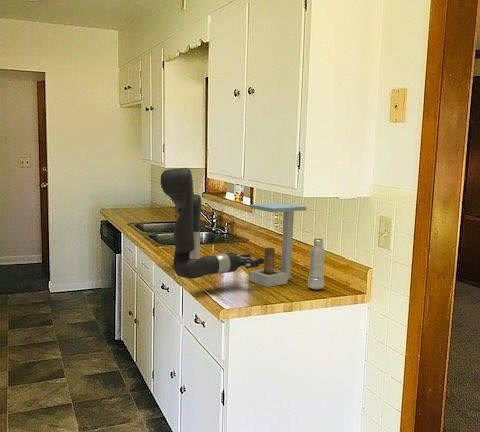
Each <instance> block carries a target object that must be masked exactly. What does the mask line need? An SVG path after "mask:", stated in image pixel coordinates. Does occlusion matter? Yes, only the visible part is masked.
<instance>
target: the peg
mask: <svg viewBox="0 0 480 432" xmlns="http://www.w3.org/2000/svg"><path fill="white" fill-rule="evenodd" d="M275 250H276V248H275V247H265V248H264V258H263V259H264V264H263V269H264V274H267V275H271V274H274V270H275V252H276V251H275Z"/></svg>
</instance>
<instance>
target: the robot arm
mask: <svg viewBox="0 0 480 432" xmlns="http://www.w3.org/2000/svg"><path fill="white" fill-rule="evenodd" d="M193 183H194V181H193V173H192V170H191V169H189V168H188V167H184V168H183V167H181V168H172V169H171V168H170V169H165V170H164V171H162V173H161V175H160V185H161V189H162V191H163V193H164V194H165V195H166V196H168V197H169V198H170V200H171V201H172V203H173V205H175V209H176V212H177V214H179V215H178V216H177V219H176V221H175V223H174V226H173V227H174V228H173V239H174V240H173V241H174V246H175V248H174V254H173V262H172V264H173V270H174V272H175V274H176V275H177V276H178V277H180V278H185V279H190V280H191V279H198V278H202V277H204V276H205V277H206V276H211V275H215V274H216V275H218V274H220V275H221V274H227V273H233V272H237V270H238V269H239V268H245V269H250V268H251V269H253V268H259V266H260V265H264V258H263V257H261V258H251V254H250V253H247V254H242V253H240V254H239V253H235V252H232V251H231V252H224V253H217V254H213V255H206V256H201V257H200V249H201V248H200V247H201V246H200V245H201V244H200V242H201V241H200V239H201V238H200V237H201V215H202V214H201V213H202V197H201V195H200V194H195V193H194V184H193Z"/></svg>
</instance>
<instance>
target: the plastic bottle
mask: <svg viewBox="0 0 480 432" xmlns="http://www.w3.org/2000/svg"><path fill="white" fill-rule="evenodd" d="M312 243H313V246H312V247H311V248H310V249H309V265H310V266H309V273H308V278H307V286H308V288H309V289H311V290H322V289H323V288H324V284H325V277H324V269H325V267H324V266H325V260H326V254H327V252H326V250H325V247H324V240H323V238H313V242H312Z"/></svg>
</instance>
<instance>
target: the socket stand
mask: <svg viewBox="0 0 480 432" xmlns="http://www.w3.org/2000/svg"><path fill="white" fill-rule="evenodd" d="M249 206H250V209H251V210H252V209H253V210H258V211H263V212H269V213H282V212H283V219H282V220H283V221H282V222H283V223H282V238H281V239H282V241H281V243H282V244H281V259H280V260H281V261H280V263H281V264H280V270H277V269H274V274H271V275H267V274H264V268H262V269H257V270H250V271H249V281H250V282H252V283H255V284H258V285H260V286H262V287H263V286H264V287H266V288H268V287H269V288H270V287H274V286H279V285H286V284H288V281H289V279H290V280H292V279H291V276H292V261H293V260H292V255H293V237H294V222H295V221H294V216H295V212H300V211H302V212H304V211H307V206H306V205H298V204H293V203H287V202H274V203H273V202H272V203H254V204H253V203H252V204H250V205H249Z"/></svg>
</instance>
